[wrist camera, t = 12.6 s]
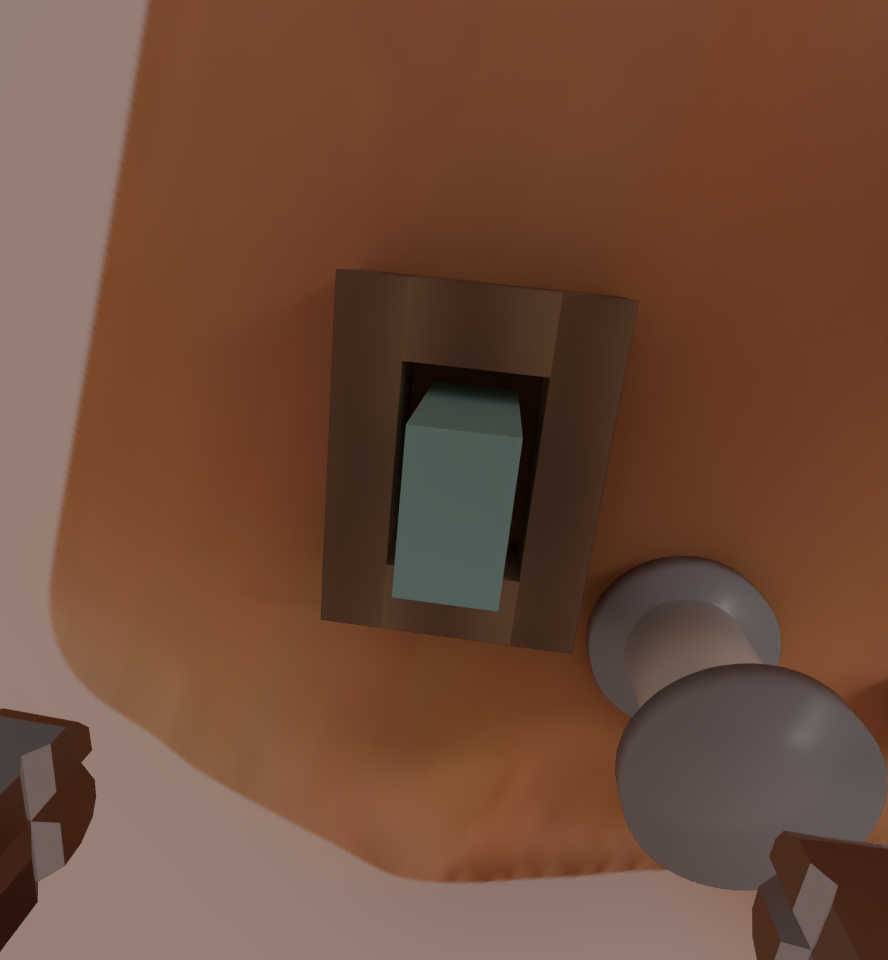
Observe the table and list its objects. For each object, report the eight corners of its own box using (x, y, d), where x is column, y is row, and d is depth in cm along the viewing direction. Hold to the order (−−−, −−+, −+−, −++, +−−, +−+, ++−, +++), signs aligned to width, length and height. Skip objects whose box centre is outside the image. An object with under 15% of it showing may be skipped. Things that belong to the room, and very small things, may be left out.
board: (620, 297, 22) (638, 300, 19) (564, 611, 25) (572, 653, 23) (357, 269, 22) (335, 269, 19) (340, 581, 26) (320, 619, 23)
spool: (791, 569, 24) (924, 705, 16) (745, 723, 26) (843, 907, 19) (603, 545, 24) (647, 668, 17) (573, 699, 27) (600, 870, 19)
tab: (517, 390, 23) (522, 438, 16) (500, 519, 24) (498, 611, 18) (434, 380, 23) (406, 424, 16) (422, 509, 25) (391, 597, 18)
